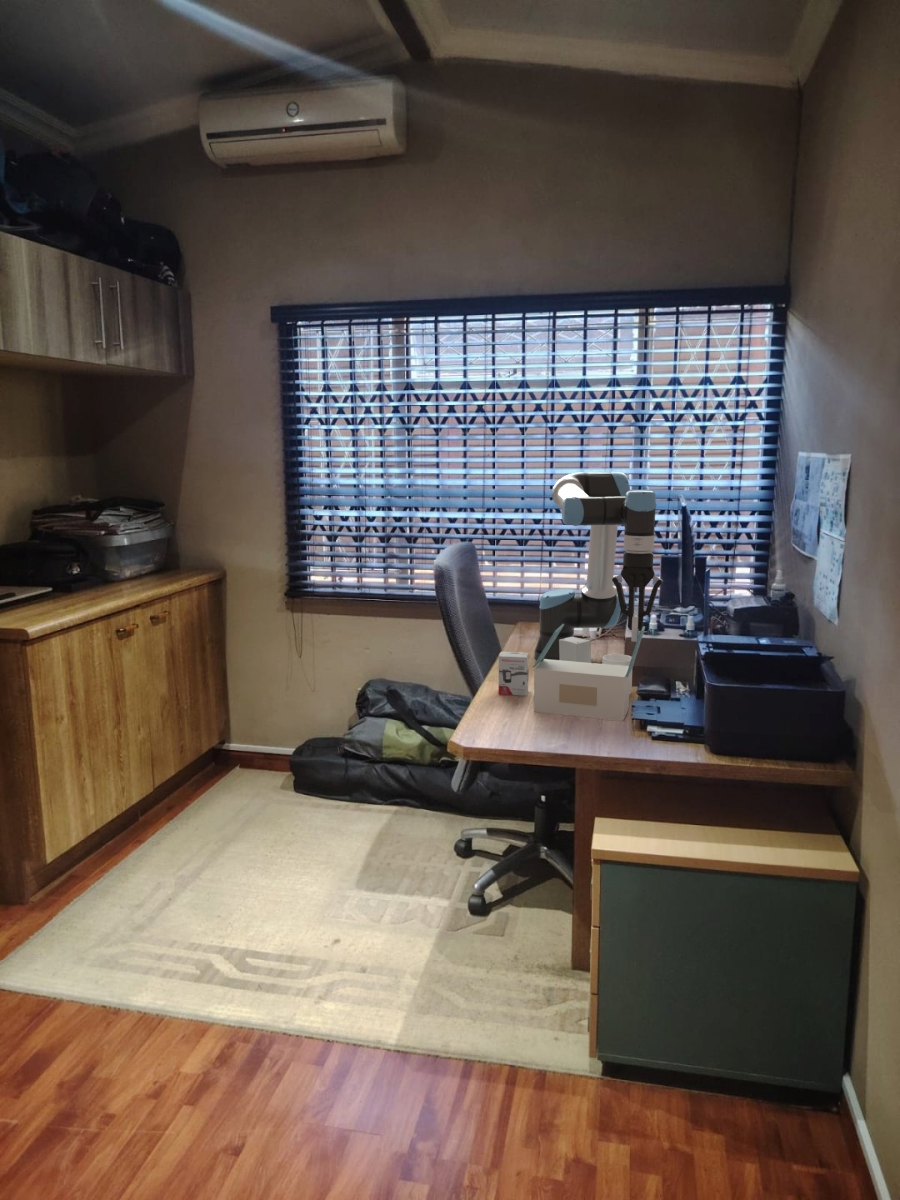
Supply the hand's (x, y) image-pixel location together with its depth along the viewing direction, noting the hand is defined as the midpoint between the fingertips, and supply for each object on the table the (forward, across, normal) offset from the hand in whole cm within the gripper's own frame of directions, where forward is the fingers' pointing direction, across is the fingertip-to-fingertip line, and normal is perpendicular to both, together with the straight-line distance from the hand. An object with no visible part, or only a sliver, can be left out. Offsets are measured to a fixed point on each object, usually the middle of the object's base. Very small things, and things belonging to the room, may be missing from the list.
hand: (634, 640), depth 203 cm
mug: (+21, -7, +17) cm, 28 cm away
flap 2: (+3, 0, 0) cm, 3 cm away
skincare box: (+21, -20, +20) cm, 35 cm away
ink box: (+21, -36, +9) cm, 42 cm away
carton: (+21, -14, 0) cm, 25 cm away
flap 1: (+3, -23, 0) cm, 23 cm away
